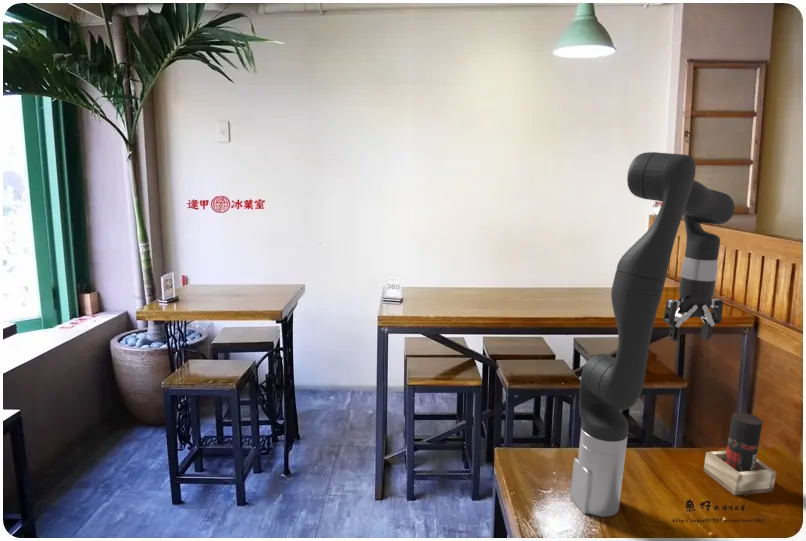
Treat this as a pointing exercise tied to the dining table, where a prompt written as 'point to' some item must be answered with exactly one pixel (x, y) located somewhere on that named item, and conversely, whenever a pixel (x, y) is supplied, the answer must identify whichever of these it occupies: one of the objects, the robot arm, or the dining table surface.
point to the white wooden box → (739, 475)
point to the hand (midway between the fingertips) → (689, 340)
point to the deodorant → (743, 442)
